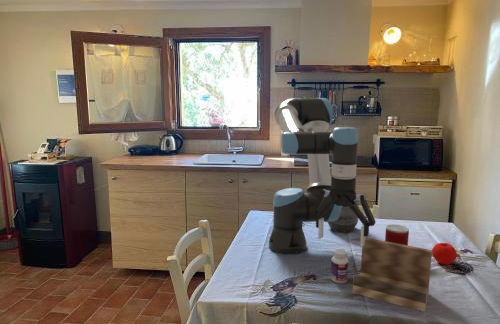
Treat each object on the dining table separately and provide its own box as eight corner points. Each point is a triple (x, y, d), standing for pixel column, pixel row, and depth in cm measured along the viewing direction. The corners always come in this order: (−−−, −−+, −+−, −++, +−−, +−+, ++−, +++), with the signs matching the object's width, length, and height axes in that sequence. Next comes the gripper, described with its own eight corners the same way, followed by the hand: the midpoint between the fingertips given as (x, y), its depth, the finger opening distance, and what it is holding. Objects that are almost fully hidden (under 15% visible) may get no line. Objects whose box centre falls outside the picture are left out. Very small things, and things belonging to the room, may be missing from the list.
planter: (324, 222, 171) (325, 192, 168) (355, 224, 169) (356, 193, 166) (326, 233, 157) (328, 201, 154) (360, 235, 155) (361, 202, 152)
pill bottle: (338, 285, 113) (339, 256, 111) (327, 277, 118) (328, 250, 116) (351, 281, 115) (352, 253, 114) (339, 274, 120) (340, 247, 118)
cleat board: (352, 292, 108) (354, 249, 106) (361, 277, 118) (363, 237, 115) (424, 312, 98) (429, 264, 96) (428, 293, 108) (432, 250, 105)
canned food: (408, 260, 130) (411, 232, 128) (386, 258, 131) (387, 230, 130) (404, 252, 137) (406, 225, 135) (382, 250, 139) (384, 223, 137)
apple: (435, 256, 134) (437, 237, 132) (458, 262, 128) (460, 243, 127) (427, 262, 128) (429, 243, 127) (451, 270, 122) (453, 250, 121)
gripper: (301, 175, 114) (300, 238, 117) (383, 183, 101) (379, 253, 104) (310, 171, 120) (308, 231, 123) (387, 178, 107) (383, 245, 111)
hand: (341, 241), depth 114 cm, fingers open, 13 cm apart
